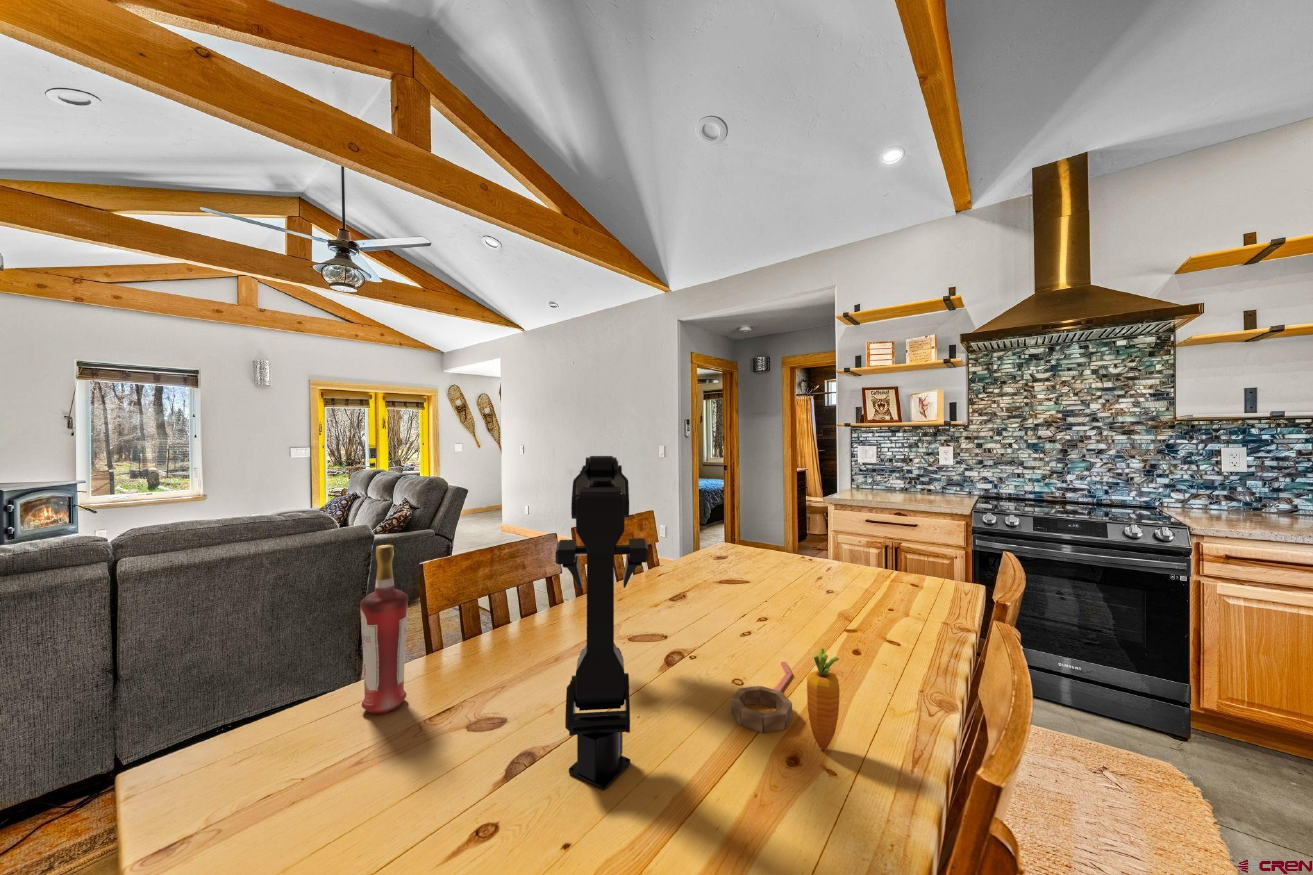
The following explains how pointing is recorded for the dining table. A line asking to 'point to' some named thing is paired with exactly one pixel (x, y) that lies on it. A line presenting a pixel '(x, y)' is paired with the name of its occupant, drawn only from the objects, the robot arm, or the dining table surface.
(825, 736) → the carrot
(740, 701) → the bead ring
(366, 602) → the liquor
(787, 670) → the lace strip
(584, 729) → the robot arm
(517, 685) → the dining table surface
